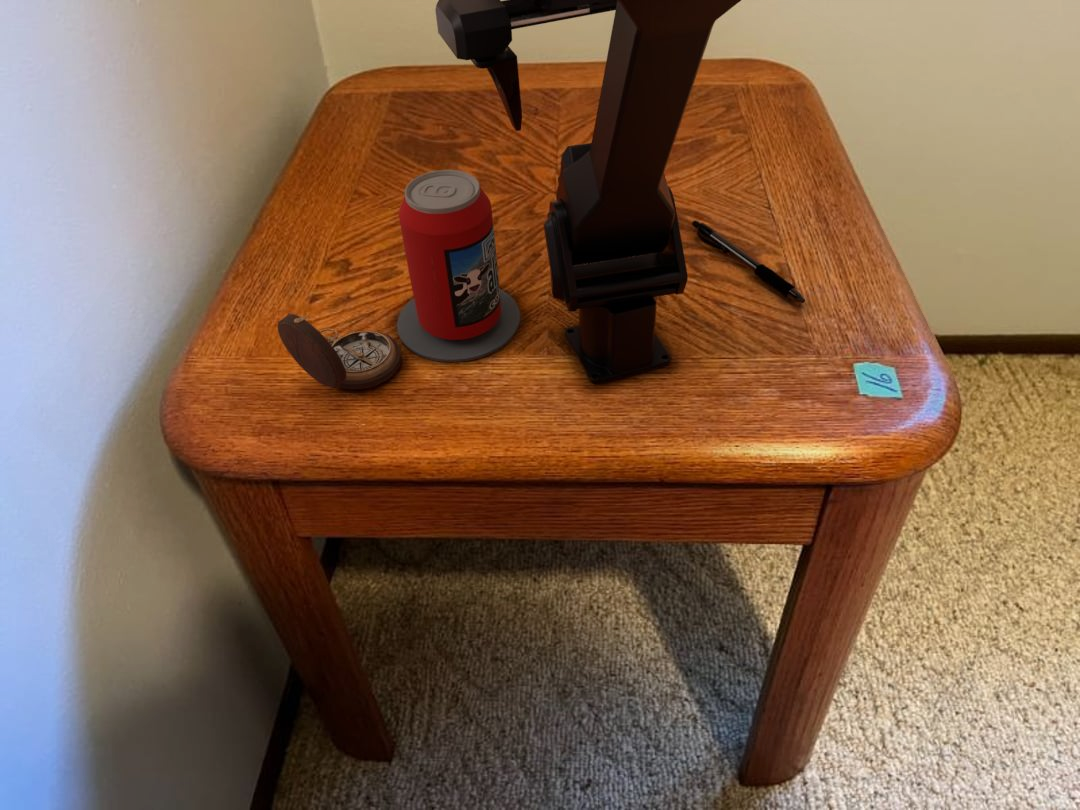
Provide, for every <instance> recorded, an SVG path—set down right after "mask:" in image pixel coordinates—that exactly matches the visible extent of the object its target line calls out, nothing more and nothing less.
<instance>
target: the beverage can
mask: <svg viewBox="0 0 1080 810" xmlns="http://www.w3.org/2000/svg"><path fill="white" fill-rule="evenodd" d="M480 185H481V184H480V182H479V181H478V179H477V178H476V177H475V176H474V175H472V174H471V173H468V172H465V171H462V170H458V169H439V170H438V169H437V170H432V171H428V172H426V173H422V174H420V175H418V176H416V177H414V178H413V179H412V180H411V181H409V182H408V184H407V185H406V187H405V189H404V197H403V199H402V201H401V204H400V206H399V210H398V219H399V226H400V230H401V237H402V242H403V248H404V254H405V259H406V263H407V264H406V265H407V271H408V274H409V280H410V285H411V289H412V290H411V291H412V295H413V298H414V301H415V306H416V311H417V316H418V320H419V323H420V325H421V327H422V328H423V329H424V330H425V331H426V332H428V333H429V334H431V335H433V336H435V337H438V338H442V339H448V340H463V339H468V338H472V337H476V336H478V335H481V334H483V333H485V332H486V331H488V330H489V329H491V328H492V327H493V326H494V325H495V324H496V323H497V321H498V320H499V317H500V315H501V301H500V289H501V288H500V278H499V269H498V258H497V257H498V256H497V246H496V236H495V229H494V227H495V226H494V220H493V217H494V216H493V209H492V203H491V200H490V198H489V196H488V195H487V194H486V193H485V191H484V190H483V189H482V187H481V186H480Z"/></svg>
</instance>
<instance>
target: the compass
mask: <svg viewBox="0 0 1080 810" xmlns="http://www.w3.org/2000/svg"><path fill="white" fill-rule="evenodd" d="M308 317H309V313H308V312H306V315H302V316H299V315H297V314H295V313H288V314H287V315H285V316H284V317H283V318H281V320H278V322H277V331H278V335H279V338H280V340H281V342H282V344H283V346H284V348H285V349H286V350H287V352H288V353H289V355H290V356H291V357H292V358H293V360H294V361H295V362H296V363H297V364H298V365H299V366H300V368H301V369H302V370H303V371H304V372H306V374H308V375H309V376H310V377H311V378H312V379H314V380H315V381H316V382H318V383H319V384H321V385H323V386H325V387H329V388H333V389H336V388H337V387H338V388H341V389H346V390H364V389H368V388H373V387H376V386H378V385H381V383H385V382H386V381H387V380H389V379H390V378H392V377H394V375H395V374H396V373H397V371H398V370H399V369H400V368H401V367H400V366H401V363H402V361H403V357H402V356H403V355H402V349H401V346H400V345H399V343H398V341H397V340H396V339H395V338H393V336H392V335H389V334H386V333H384V332H382V331H381V332H380V331H373V330H360V331H354V332H351V333H347V334H346V335H343V336H341V337H339V332H338V331H337V330H336V329H334V328H323V329H321V330H318V329H317V327H315V326H314V325H312V323H310V322H309V321H307V320H306V319H307V318H308ZM327 331H332V332H334V333H335V336H334V335H329V336H328V337H327V338H326V337H325V336H324V335H323V334H322V333H323V332H327Z"/></svg>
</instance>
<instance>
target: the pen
mask: <svg viewBox="0 0 1080 810" xmlns="http://www.w3.org/2000/svg"><path fill="white" fill-rule="evenodd" d="M691 225H692V226H693V227H694V228H695V230H696V231H695V234H696V236H697V238H698V240H700V241H701V242H703V243H704V244H706V245H707V246H710V247H712V248H714V249H717V250H720V251H722V253H723V254H725V255H726V254H728V255H729V256H730V257H732V258H733V259H734V260H736V261H737V262H738V263H740V264H741V265H743V266H744V267H746V268H747V269H748V270H750V272H752V273H753V274H754V275H755V276H756V277H758V279H760V280H761V281H762V282H763V283H765V284H766V285H768V286H769V287H771V288H772V289H774V290H775V291H776V292H778V293H780V294H781V295H782V296H784V297H785V298H789V299H791V300H792V301H794V302H796V303H800V304H804V303H805V302H806V299H805V297H804V296H803V295H802V294H801V292H800V291H798V290H797V288H796V287H795V286H794V285H793V284H792V283H790V282H788V281H787V280H786V279H784V277H782V276H781V275H779V274H778V273H777V272H775V271H774V270H773V269H772V268H770V267H768V266H766V265H765V264H764V263H761V262H759V261H758V260H757V259H755V258H753V257H752V256H750V255H749V254H747V253H746V252H745V251H743V250H742V249H741V248H740V247H738V246H736V245H735V244H734V243H732V242H731V241H730V240H728V239H727V238H726V237H724V236H723V235H721V234H719V233H718V232H717V231H716V230H715V229H713V227H711V226H709V224H706V223H704V222H699V220H697V219H696V220H692V222H691Z"/></svg>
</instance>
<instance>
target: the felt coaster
mask: <svg viewBox="0 0 1080 810" xmlns="http://www.w3.org/2000/svg"><path fill="white" fill-rule="evenodd" d="M499 289H500V301H501V315H500V317H499V320H498V321H497V323H496V324H495V325H494V326H493V327H492V328H491V329H489V330H488V331H486V332H485V333H483V334H481V335H478V336H476V337H472V338H468V339H463V340H448V339H442V338H438V337H435V336H433V335H431V334H429V333H428V332H426V331H425V330H424V329H423V328H422V327H421V325H420V323H419V320H418V316H417V311H416V306H415V301H414V297H412V298H411V299H410V300H409V301H408V302H407V303H406V304H405V305H404V306H403V308H402V309H401V311H400V312H399V315H398V317H397V323H396V330H397V334H398V338H399V340H400V342H401V343H402V344H403V346H404V347H405V348H406V349H408V351H410V352H411V353H413V354H415V355H417V356H419V357H422V358H423V359H425V360H430V361H434V362H441V363H461V362H463V363H464V362H470V361H474V360H479V359H481V358H484V357H486V356H489V355H492V354H494V353H496V352H497V351H499V350H501V349H502V348H503V347H506V345H507V344H508V343H510V341H511V340H512V339H513V338H514V337H515V335H516V334H517V332H518V330H519V328H520V324H521V311H520V308H519V305H518V303H517V302H516V301H515V299H514V298H513V297H512V296H511V295H510V294H509V293H508V292H506V291H504V290H503V289H501V288H499Z"/></svg>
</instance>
